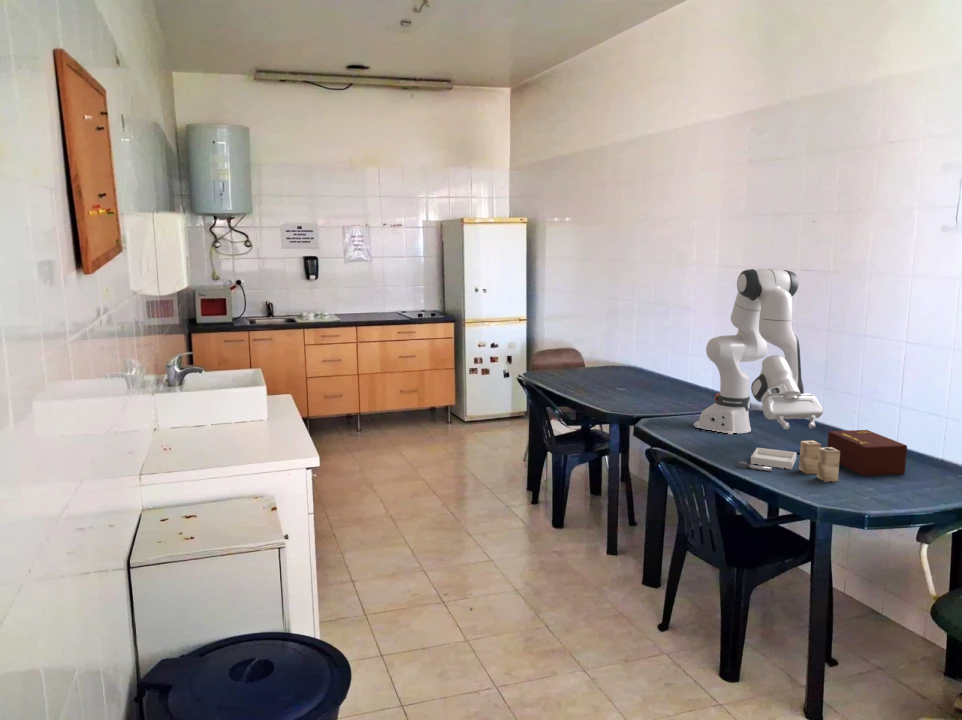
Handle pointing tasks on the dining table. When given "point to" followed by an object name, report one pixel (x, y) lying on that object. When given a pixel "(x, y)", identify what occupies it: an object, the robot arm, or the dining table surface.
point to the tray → (773, 458)
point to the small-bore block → (809, 456)
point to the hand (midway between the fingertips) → (800, 428)
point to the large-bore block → (828, 464)
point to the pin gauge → (754, 466)
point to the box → (868, 452)
